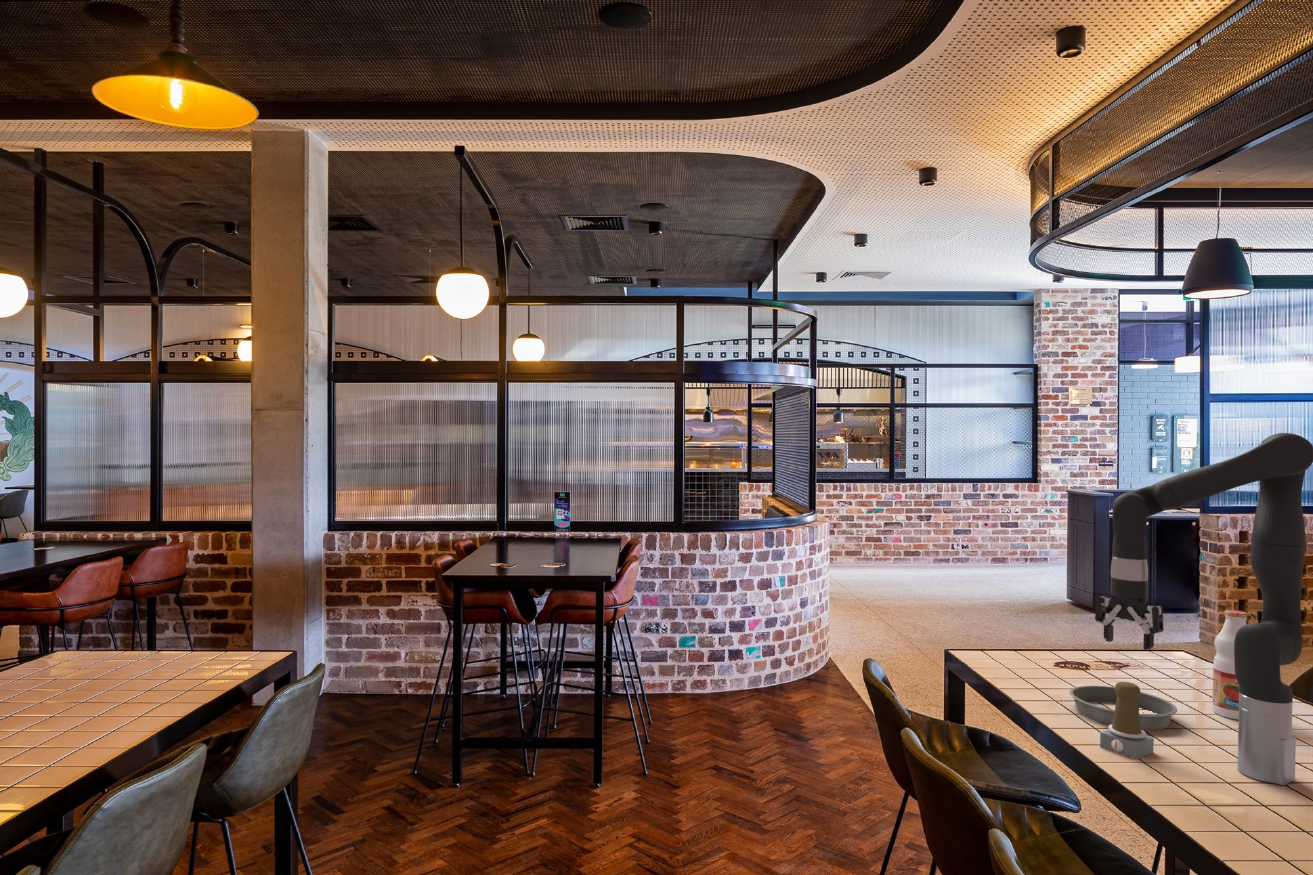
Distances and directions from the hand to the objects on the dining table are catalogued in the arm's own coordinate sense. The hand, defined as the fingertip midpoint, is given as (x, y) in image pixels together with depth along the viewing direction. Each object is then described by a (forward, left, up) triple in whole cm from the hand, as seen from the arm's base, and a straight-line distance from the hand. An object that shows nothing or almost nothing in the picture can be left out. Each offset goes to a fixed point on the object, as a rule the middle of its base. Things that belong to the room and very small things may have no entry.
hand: (1127, 645), depth 182 cm
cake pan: (+13, -24, -25) cm, 37 cm away
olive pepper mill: (0, +1, -20) cm, 20 cm away
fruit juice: (-2, -52, -25) cm, 58 cm away
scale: (0, +1, -25) cm, 25 cm away
